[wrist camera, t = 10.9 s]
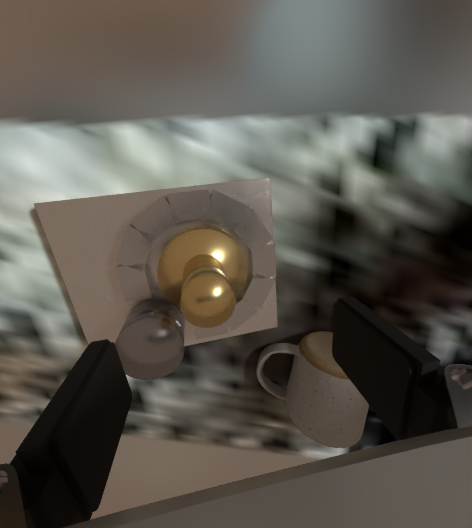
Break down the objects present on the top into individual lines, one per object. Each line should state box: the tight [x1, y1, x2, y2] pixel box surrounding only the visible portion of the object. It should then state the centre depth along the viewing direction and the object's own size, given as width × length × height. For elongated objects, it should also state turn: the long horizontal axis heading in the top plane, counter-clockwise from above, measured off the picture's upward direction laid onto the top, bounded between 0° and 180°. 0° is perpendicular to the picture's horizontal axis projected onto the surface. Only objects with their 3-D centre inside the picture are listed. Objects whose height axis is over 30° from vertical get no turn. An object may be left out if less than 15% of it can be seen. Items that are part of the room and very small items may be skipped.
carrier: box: [34, 178, 278, 380], centre depth 18 cm, size 17×14×5 cm
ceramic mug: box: [256, 331, 369, 448], centre depth 23 cm, size 11×8×8 cm
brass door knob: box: [157, 226, 247, 328], centre depth 17 cm, size 7×7×7 cm
